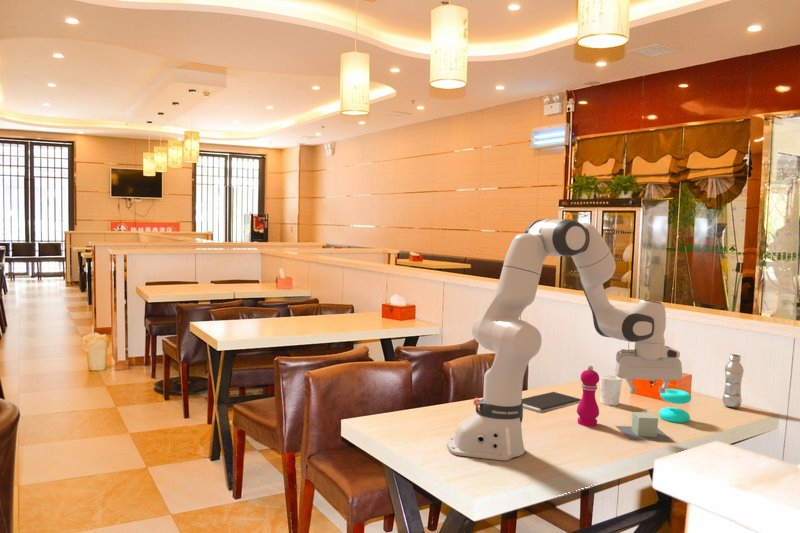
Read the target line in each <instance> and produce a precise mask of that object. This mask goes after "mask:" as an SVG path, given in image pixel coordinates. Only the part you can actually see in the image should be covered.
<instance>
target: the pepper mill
mask: <svg viewBox="0 0 800 533" xmlns="http://www.w3.org/2000/svg"><path fill="white" fill-rule="evenodd" d="M580 381H581V382H582V383H581V389H582V396H581V398H580V399H581V401H580V402H578V403H577V404H578V405H577V408H576V413H577V415H578V417H577V424H578V425H580V426H583V427H588V428H589V427H590V428H591V427H593V428H594V427H597V426H598V419H597V418H598V417H599V415H600V408H599V405H598V403H597V401H596V391H597V390H598V385H597V384H598V383H600V375H599V373H598V372H597V371H596V370H594V366H592V365H587V369H586V370H583V371H582V372H581V374H580Z"/></svg>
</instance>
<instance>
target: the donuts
mask: <svg viewBox="0 0 800 533" xmlns="http://www.w3.org/2000/svg"><path fill="white" fill-rule="evenodd" d="M659 395H660V398H661V399H662V400H663V401H666V402H667V403H671V404H676V405H686V404H688V403H689V402H690V401H691V400H692V396H691V394H690V393H689V392H687V391H685V390H682V389H676V388H666V391H665V393H659ZM658 416H659V418H661V419H662V420H663V421H667V422H671V423H677V424H685V423H687V422H689V421H690V419H691V416H690V414H689V413H688V411H686V410H684V409H682V408H678V407H672V406H671V407H669V406H668V407H663V408H661V409H660V410H659V412H658Z"/></svg>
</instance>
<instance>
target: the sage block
mask: <svg viewBox="0 0 800 533" xmlns="http://www.w3.org/2000/svg"><path fill="white" fill-rule="evenodd" d="M658 426H659V418H658V417H657V416H656V415H654V414H653V413H652V412H636V411H633V412H632V415H631V427H632V429H631V430H632V431H633V432H634V433H635V434H636V435H637V436H645V437H657V429H659V427H658Z"/></svg>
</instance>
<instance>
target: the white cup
mask: <svg viewBox="0 0 800 533" xmlns="http://www.w3.org/2000/svg"><path fill="white" fill-rule="evenodd" d="M622 382H623V379H621V378H619V377H617V375H612V374H602V375H599V402H600V403H601V405H605V404H606V406H618V405H619V404H620V398H621V389H622Z"/></svg>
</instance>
